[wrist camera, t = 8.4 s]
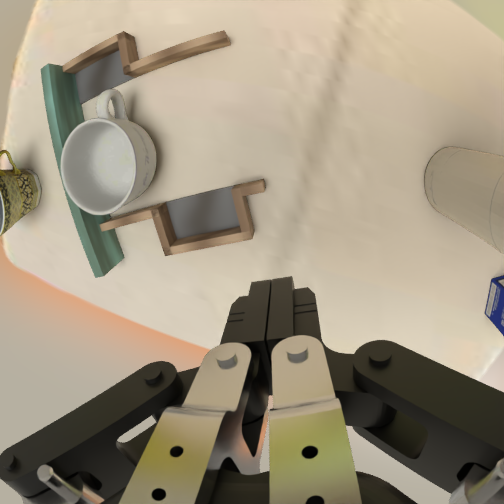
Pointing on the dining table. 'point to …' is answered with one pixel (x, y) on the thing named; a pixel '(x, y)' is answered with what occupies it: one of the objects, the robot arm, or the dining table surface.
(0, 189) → the ceramic cup
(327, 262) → the dining table surface
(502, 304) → the milk carton
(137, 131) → the teacup
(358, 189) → the dining table surface
